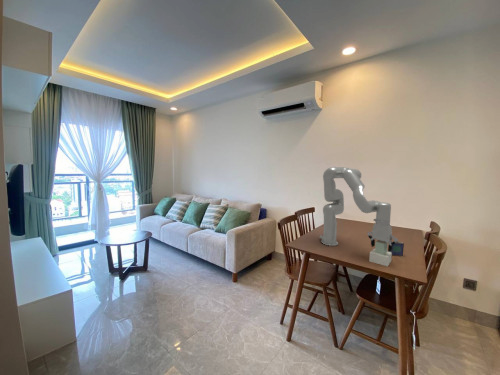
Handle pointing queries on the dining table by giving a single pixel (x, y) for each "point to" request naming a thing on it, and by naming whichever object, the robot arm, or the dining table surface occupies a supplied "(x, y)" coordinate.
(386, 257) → the cream box
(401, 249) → the flask
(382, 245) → the open sage green box
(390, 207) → the robot arm
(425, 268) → the dining table surface
